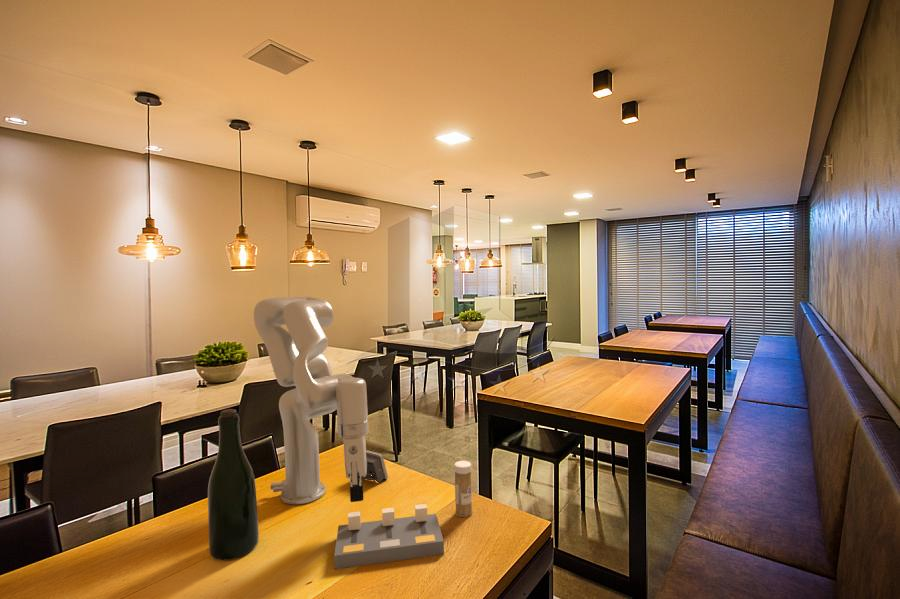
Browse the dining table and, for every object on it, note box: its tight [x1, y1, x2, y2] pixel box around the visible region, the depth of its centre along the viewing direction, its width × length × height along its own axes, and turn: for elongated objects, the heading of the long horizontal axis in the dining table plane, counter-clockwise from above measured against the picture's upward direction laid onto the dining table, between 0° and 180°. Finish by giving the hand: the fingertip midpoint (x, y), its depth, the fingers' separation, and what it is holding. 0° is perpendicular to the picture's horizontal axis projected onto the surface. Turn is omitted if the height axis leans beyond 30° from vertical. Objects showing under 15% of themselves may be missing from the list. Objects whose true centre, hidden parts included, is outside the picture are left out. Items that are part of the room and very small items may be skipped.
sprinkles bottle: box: [453, 460, 473, 518], centre depth 115 cm, size 5×5×14 cm
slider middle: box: [381, 507, 395, 526], centre depth 105 cm, size 3×2×3 cm
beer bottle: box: [207, 408, 260, 561], centre depth 102 cm, size 10×10×33 cm
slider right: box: [414, 503, 428, 522], centre depth 106 cm, size 3×2×3 cm
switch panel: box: [333, 513, 445, 570], centre depth 102 cm, size 24×12×3 cm, turn 100°
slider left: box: [347, 511, 362, 530], centre depth 104 cm, size 3×2×3 cm
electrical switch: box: [362, 449, 389, 484], centre depth 136 cm, size 9×5×9 cm, turn 57°
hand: (357, 499), depth 110 cm, fingers closed
